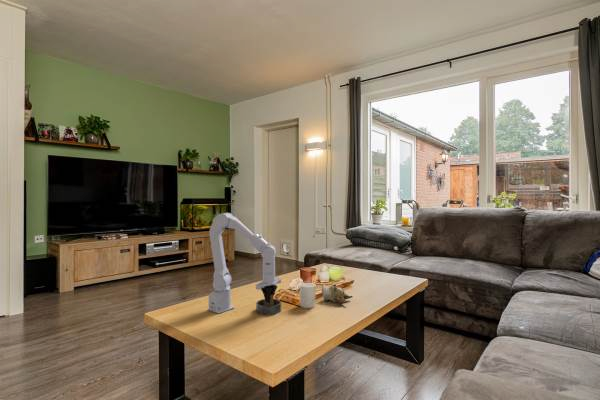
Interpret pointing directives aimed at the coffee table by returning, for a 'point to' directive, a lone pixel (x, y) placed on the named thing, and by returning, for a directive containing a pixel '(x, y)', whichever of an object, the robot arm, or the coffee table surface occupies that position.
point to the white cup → (307, 295)
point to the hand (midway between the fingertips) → (268, 301)
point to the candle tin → (268, 307)
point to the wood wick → (270, 301)
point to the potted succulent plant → (334, 294)
